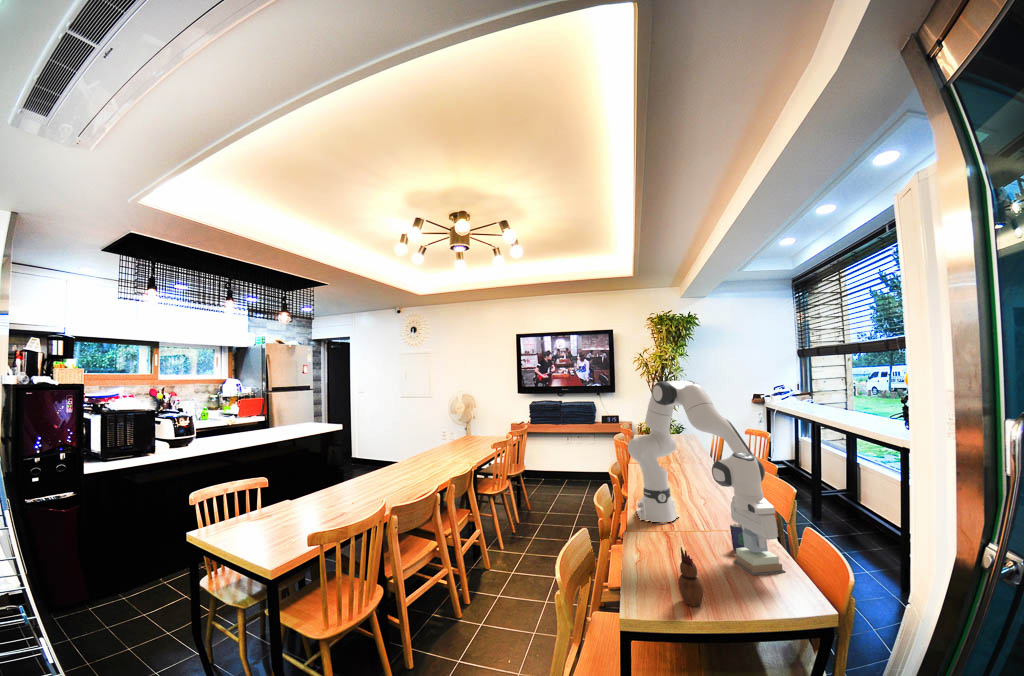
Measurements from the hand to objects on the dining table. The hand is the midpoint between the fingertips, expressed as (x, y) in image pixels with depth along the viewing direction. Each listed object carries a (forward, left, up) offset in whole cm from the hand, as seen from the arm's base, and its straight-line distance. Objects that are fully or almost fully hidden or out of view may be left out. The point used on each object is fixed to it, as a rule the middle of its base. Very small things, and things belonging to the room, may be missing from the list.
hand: (755, 543), depth 138 cm
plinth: (0, 0, -7) cm, 7 cm away
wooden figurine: (+18, -32, -8) cm, 37 cm away
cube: (0, 0, -2) cm, 2 cm away
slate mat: (0, 0, -7) cm, 7 cm away
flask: (-12, +4, -8) cm, 15 cm away
